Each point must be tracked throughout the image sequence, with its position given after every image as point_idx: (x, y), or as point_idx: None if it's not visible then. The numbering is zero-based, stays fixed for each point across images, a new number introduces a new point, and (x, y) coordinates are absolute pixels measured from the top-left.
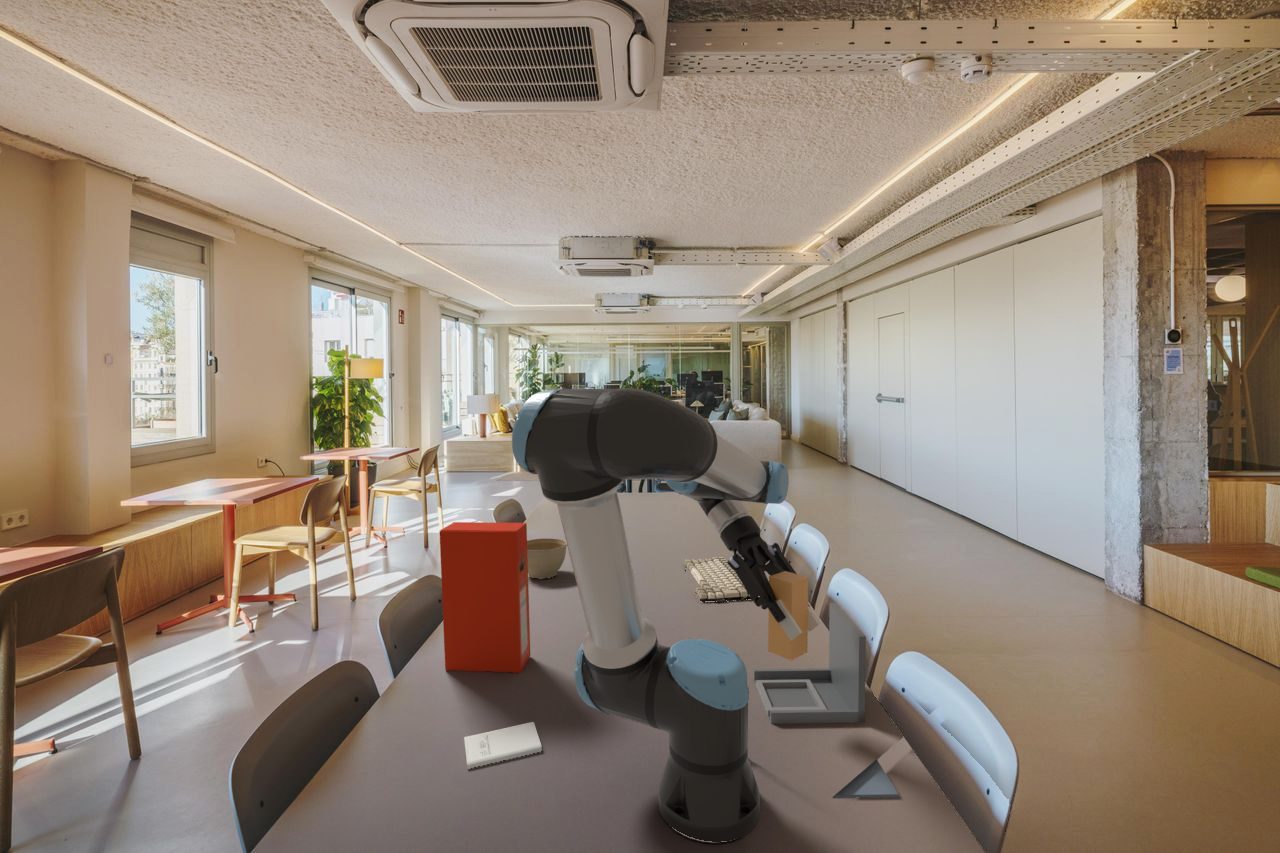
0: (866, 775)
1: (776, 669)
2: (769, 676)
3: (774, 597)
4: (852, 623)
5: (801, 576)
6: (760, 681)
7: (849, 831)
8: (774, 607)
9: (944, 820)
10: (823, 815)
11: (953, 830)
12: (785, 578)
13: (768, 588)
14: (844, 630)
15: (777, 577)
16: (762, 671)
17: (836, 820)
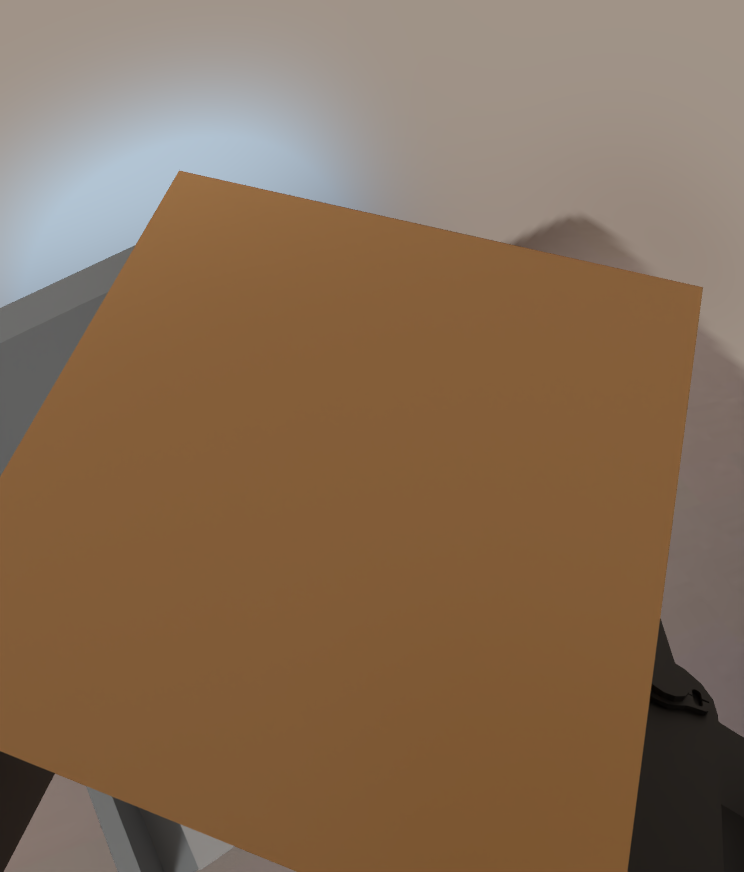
0: None
1: (95, 796)
2: (134, 819)
3: (661, 672)
4: (53, 291)
5: (185, 265)
6: (204, 842)
7: (717, 380)
8: (666, 653)
9: (547, 237)
10: (712, 439)
11: (566, 223)
12: (496, 489)
13: (674, 840)
14: (49, 371)
15: (540, 696)
16: (138, 860)
17: (705, 411)
